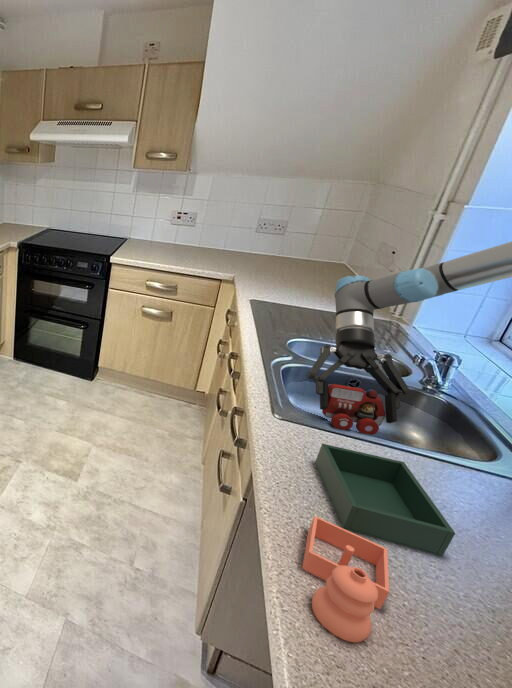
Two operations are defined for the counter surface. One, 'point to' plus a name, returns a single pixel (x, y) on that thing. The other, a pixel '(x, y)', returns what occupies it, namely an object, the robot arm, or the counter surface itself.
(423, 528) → the toy tray
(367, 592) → the pottery
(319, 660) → the counter surface
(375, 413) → the toy fire truck
